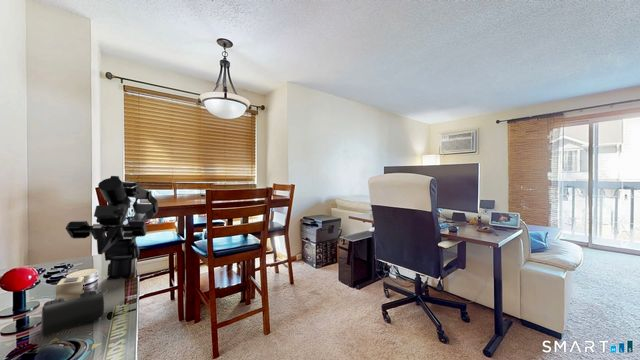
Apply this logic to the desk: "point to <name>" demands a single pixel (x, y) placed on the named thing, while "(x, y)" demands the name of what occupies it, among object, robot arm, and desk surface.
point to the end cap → (71, 312)
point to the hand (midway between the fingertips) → (99, 253)
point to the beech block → (69, 288)
